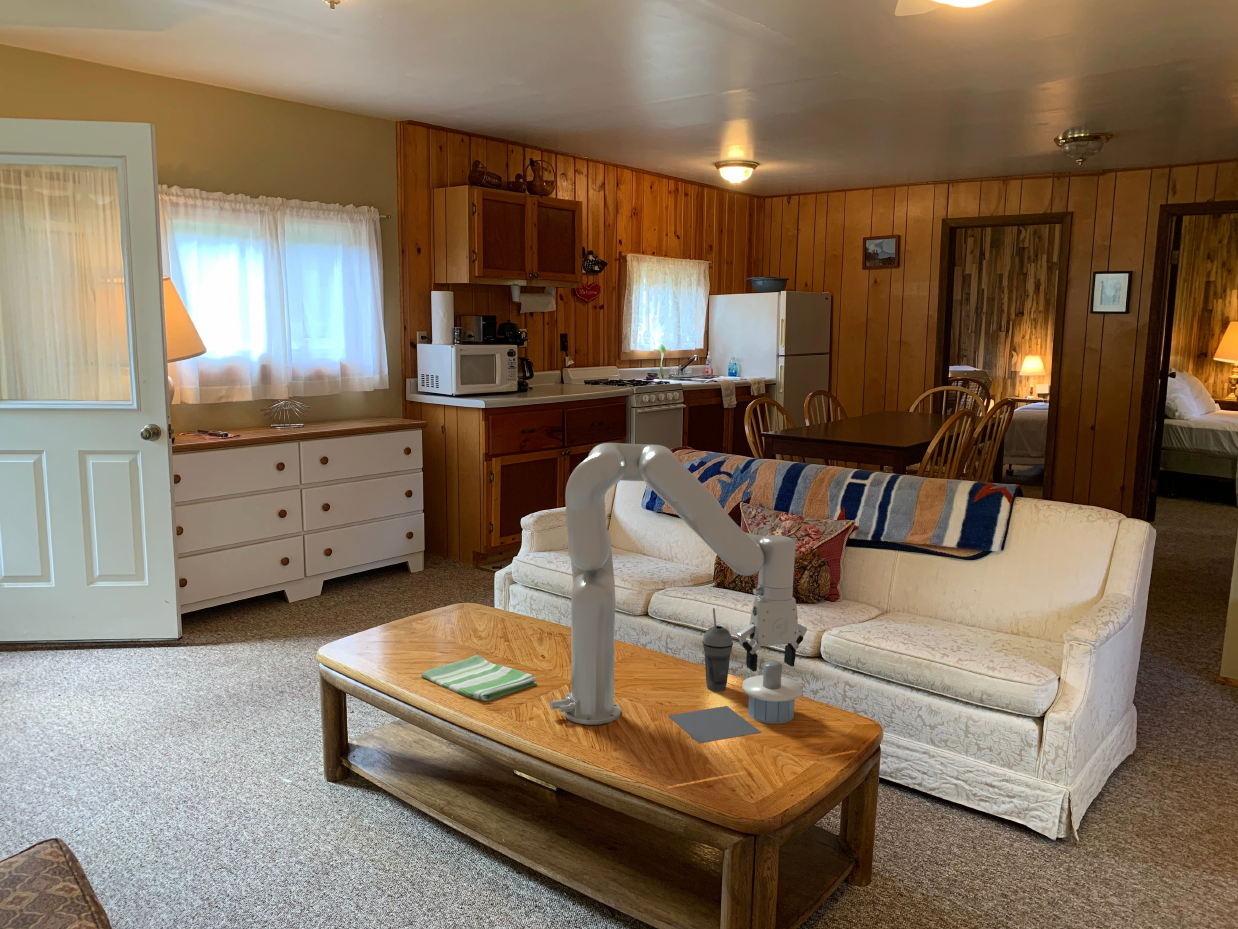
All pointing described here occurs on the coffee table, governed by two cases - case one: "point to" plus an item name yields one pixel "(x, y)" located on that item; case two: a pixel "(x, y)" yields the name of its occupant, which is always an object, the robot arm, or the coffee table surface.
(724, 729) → the mat
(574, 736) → the coffee table surface
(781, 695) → the lid
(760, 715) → the bowl
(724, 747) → the coffee table surface
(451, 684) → the dish towel
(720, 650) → the beverage cup
